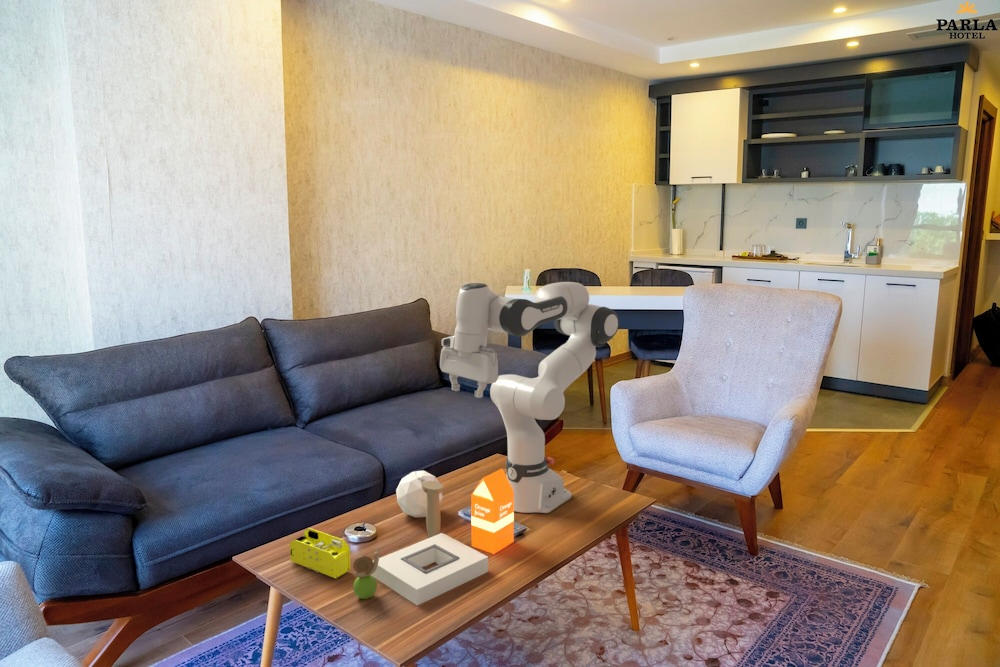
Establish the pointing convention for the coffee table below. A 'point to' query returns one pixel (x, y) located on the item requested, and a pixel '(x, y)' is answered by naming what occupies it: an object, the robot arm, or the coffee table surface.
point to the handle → (433, 506)
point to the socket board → (422, 584)
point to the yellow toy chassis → (321, 553)
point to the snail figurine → (365, 575)
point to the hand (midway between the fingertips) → (466, 393)
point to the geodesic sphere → (414, 493)
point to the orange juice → (492, 513)
